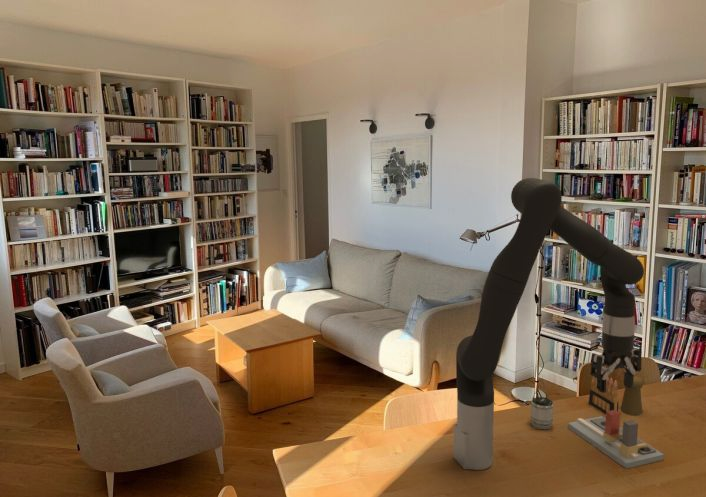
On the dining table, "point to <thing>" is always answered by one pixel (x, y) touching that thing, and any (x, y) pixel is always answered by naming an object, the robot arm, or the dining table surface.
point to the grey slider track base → (617, 442)
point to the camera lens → (542, 413)
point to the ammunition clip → (604, 396)
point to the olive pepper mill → (633, 398)
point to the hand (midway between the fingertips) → (614, 389)
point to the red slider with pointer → (612, 426)
